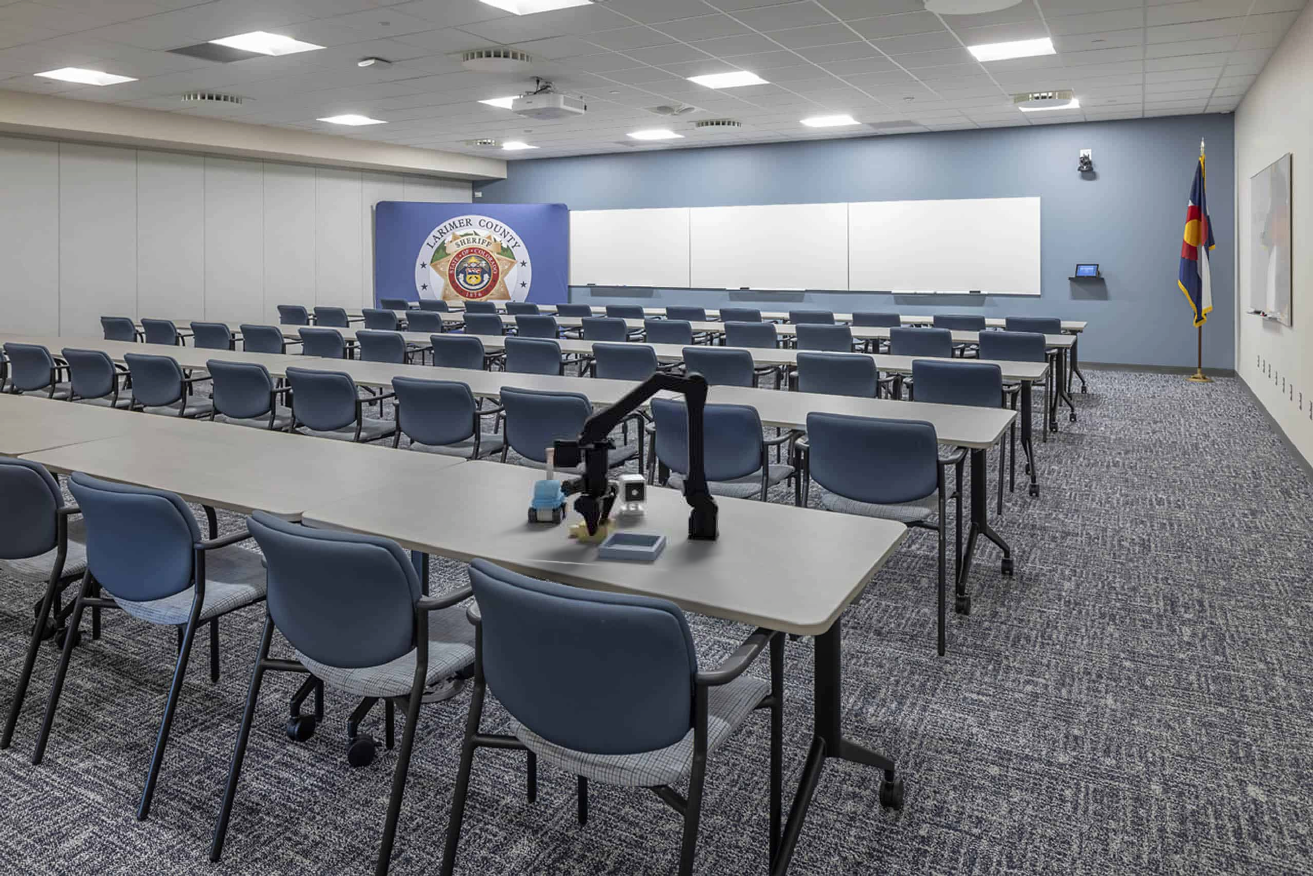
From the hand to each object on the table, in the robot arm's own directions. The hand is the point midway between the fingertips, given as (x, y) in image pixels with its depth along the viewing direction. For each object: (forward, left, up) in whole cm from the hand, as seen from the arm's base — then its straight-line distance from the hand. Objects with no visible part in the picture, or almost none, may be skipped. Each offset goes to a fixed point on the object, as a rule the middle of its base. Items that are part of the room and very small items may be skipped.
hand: (597, 530), depth 224 cm
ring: (+1, 0, -1) cm, 2 cm away
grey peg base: (0, 0, -2) cm, 2 cm away
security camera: (-3, -23, -2) cm, 23 cm away
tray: (-11, +9, -2) cm, 14 cm away
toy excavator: (+17, -15, -2) cm, 23 cm away
